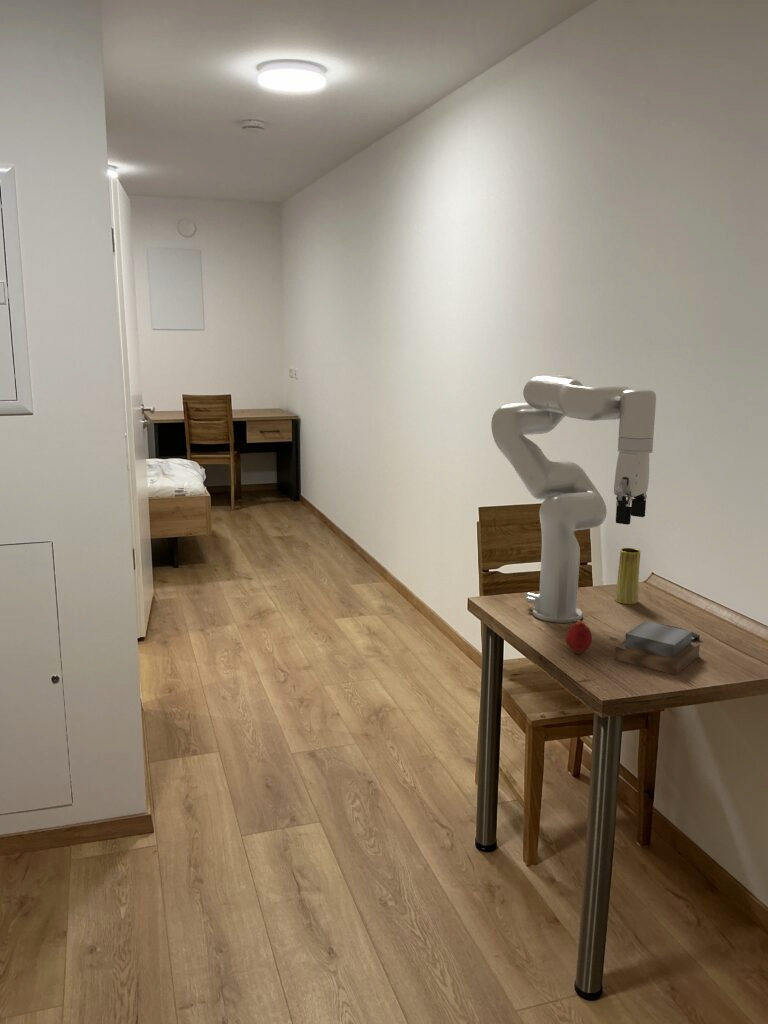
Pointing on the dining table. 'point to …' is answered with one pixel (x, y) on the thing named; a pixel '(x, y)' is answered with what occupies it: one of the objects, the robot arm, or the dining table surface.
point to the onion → (578, 637)
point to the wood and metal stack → (658, 648)
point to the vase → (628, 576)
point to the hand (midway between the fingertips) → (630, 519)
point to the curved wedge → (694, 635)
